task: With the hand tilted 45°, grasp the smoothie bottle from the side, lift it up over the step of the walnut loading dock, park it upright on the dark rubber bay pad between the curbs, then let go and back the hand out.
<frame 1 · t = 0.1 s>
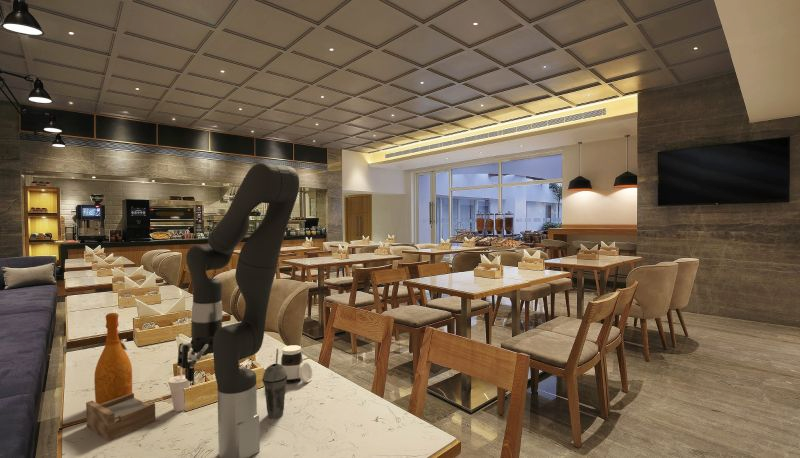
hand: (205, 375, 106), 17 cm above the table, tool pointing down, fingers open, 8 cm apart
spread jar: (296, 380, 145), on the table
smoothie: (180, 409, 123), on the table
wine bottle: (114, 405, 126), on the table
beverage cup: (275, 415, 119), on the table
loading dock: (121, 423, 114), on the table
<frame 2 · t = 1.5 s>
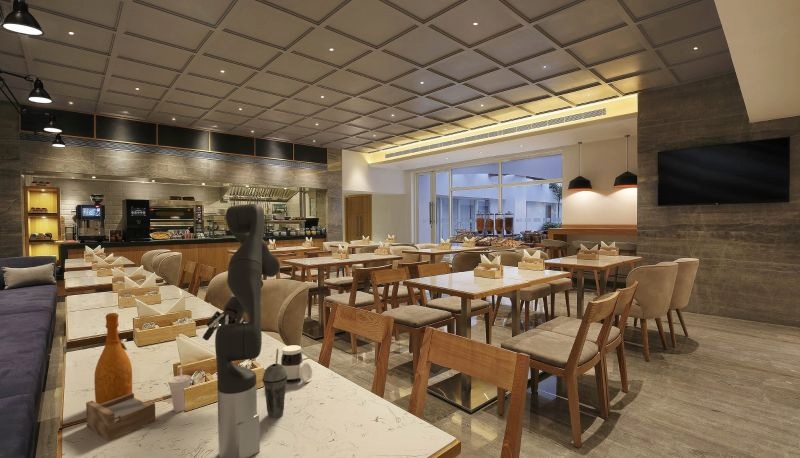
hand: (212, 341, 132), 18 cm above the table, tool tilted 45°, fingers open, 8 cm apart
nothing on the table moved.
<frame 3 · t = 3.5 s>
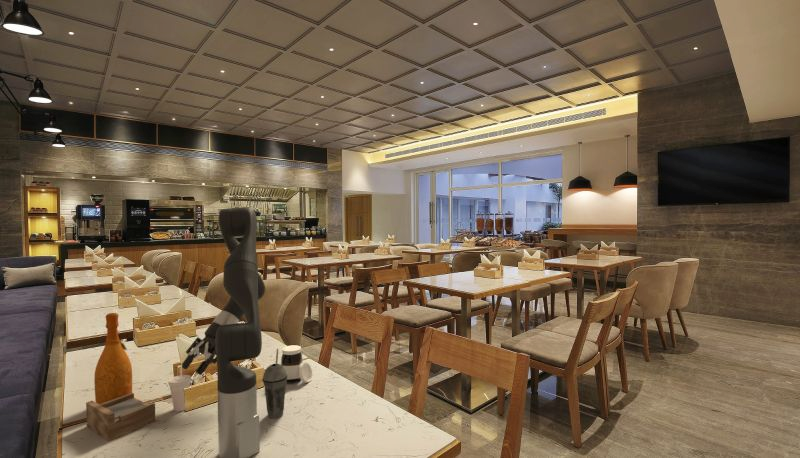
hand: (190, 370, 126), 11 cm above the table, tool tilted 45°, fingers open, 8 cm apart
nothing on the table moved.
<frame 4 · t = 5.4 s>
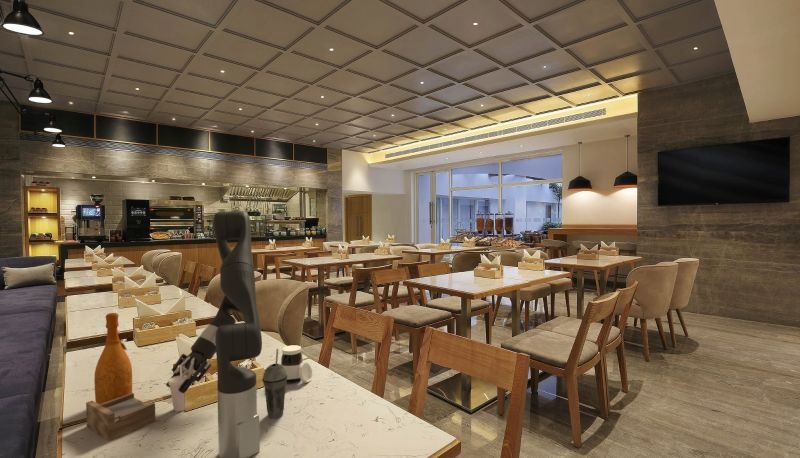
hand: (174, 389, 122), 7 cm above the table, tool tilted 45°, fingers closed on smoothie, 6 cm apart
smoothie: (180, 409, 123), on the table, touching gripper
everything else where it was.
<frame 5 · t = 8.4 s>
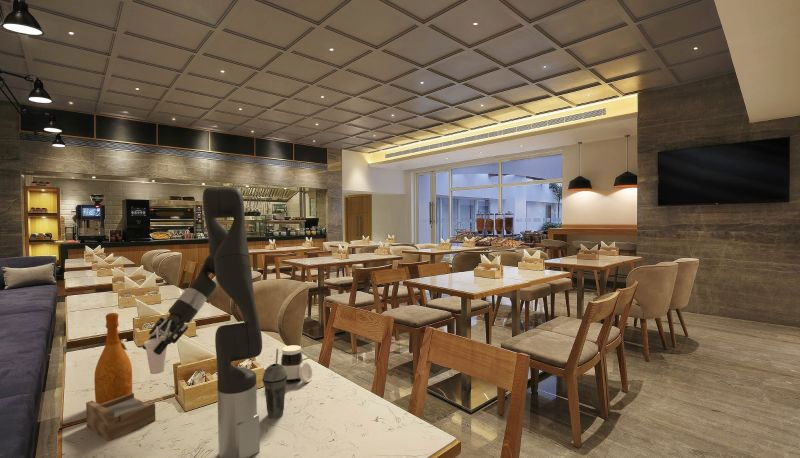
hand: (150, 351, 118), 20 cm above the table, tool tilted 45°, fingers closed on smoothie, 6 cm apart
smoothie: (157, 372, 120), point 13 cm above the table, touching gripper
everything else where it was.
when the fingers open (12 cm above the table, at t = 11.4 s): smoothie stays where it is, resting on loading dock.
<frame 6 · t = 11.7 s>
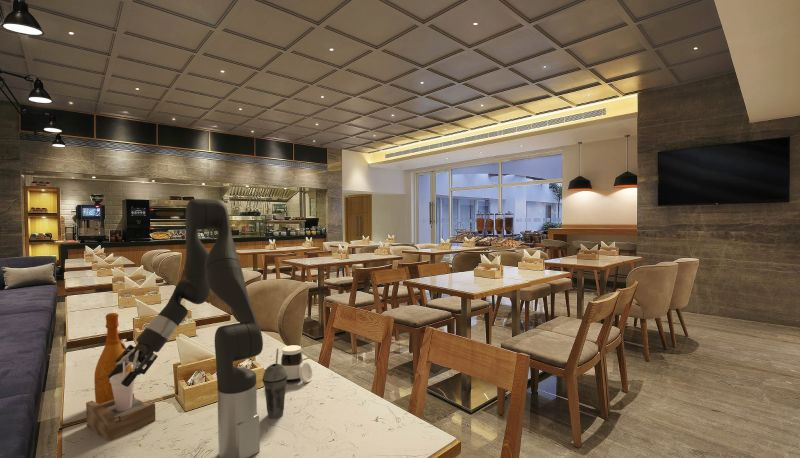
hand: (117, 382, 113), 13 cm above the table, tool tilted 45°, fingers open, 8 cm apart
smoothie: (123, 408, 115), point 4 cm above the table, touching loading dock
everything else where it was.
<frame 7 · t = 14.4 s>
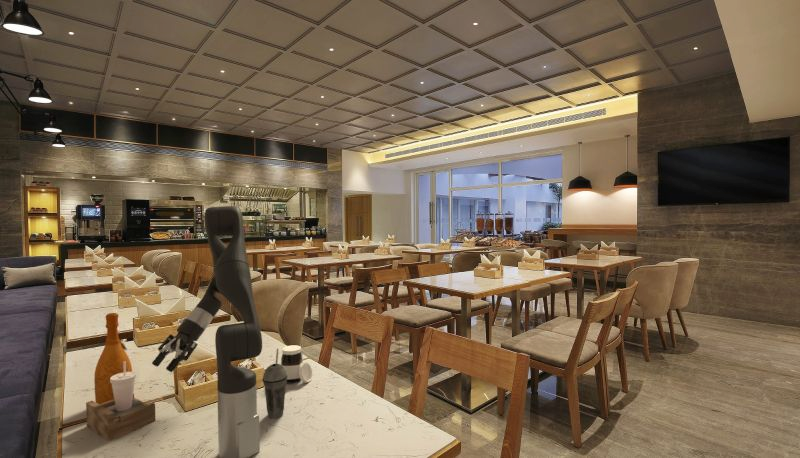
hand: (161, 368, 124), 13 cm above the table, tool tilted 45°, fingers open, 8 cm apart
nothing on the table moved.
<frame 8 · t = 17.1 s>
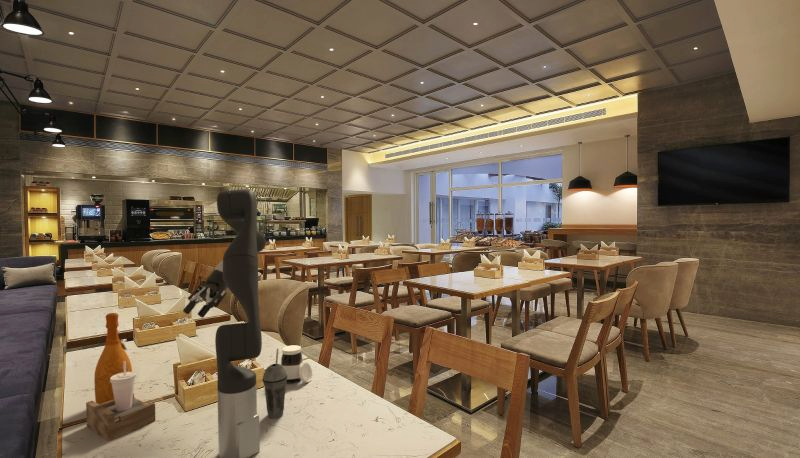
hand: (192, 314, 128), 29 cm above the table, tool tilted 45°, fingers open, 8 cm apart
nothing on the table moved.
at the end: smoothie inside the target area on the loading dock (0.2 cm from its centre), point 4.1 cm above the loading dock's base; smoothie tilted 0°; the gripper is holding nothing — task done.
